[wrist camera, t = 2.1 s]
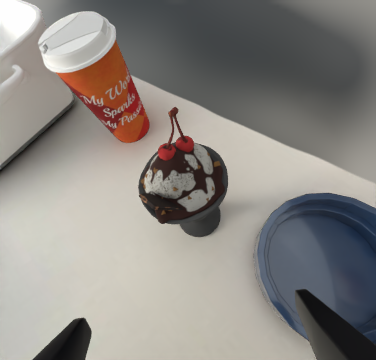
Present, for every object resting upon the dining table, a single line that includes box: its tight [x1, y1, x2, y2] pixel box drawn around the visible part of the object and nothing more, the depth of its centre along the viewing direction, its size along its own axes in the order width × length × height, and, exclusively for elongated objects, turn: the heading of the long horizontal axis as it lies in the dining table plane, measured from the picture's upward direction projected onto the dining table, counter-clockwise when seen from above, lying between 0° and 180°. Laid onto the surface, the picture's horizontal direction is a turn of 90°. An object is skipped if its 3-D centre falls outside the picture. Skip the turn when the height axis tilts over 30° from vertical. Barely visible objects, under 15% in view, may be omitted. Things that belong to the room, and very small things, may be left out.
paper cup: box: [38, 11, 149, 143], centre depth 26 cm, size 8×8×14 cm
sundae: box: [138, 107, 228, 237], centre depth 17 cm, size 7×7×15 cm
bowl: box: [253, 193, 376, 344], centre depth 18 cm, size 12×12×4 cm
